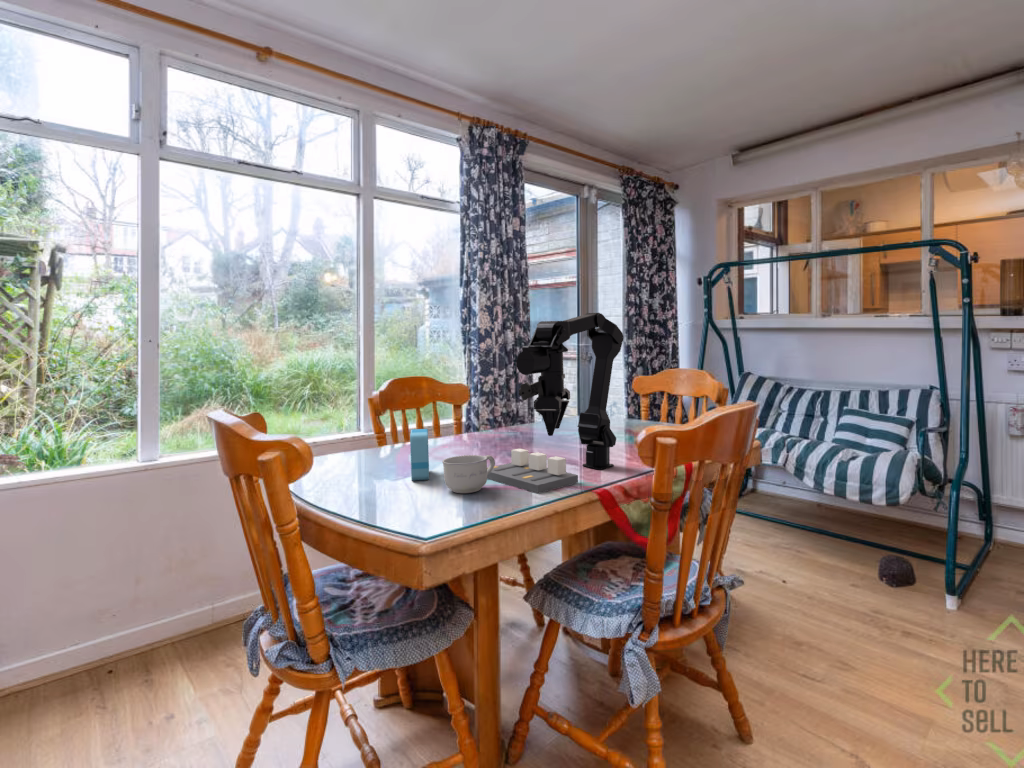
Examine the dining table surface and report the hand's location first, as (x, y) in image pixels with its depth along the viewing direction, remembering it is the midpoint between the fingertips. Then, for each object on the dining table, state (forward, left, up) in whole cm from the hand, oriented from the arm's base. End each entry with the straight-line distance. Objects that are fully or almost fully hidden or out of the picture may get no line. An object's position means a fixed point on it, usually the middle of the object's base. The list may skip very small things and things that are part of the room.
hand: (553, 432), depth 148 cm
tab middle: (+1, -5, -10) cm, 11 cm away
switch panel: (+4, -5, -13) cm, 14 cm away
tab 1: (+1, -12, -10) cm, 16 cm away
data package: (+22, -28, -13) cm, 38 cm away
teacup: (+21, -8, -13) cm, 25 cm away
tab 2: (+1, +2, -10) cm, 10 cm away
